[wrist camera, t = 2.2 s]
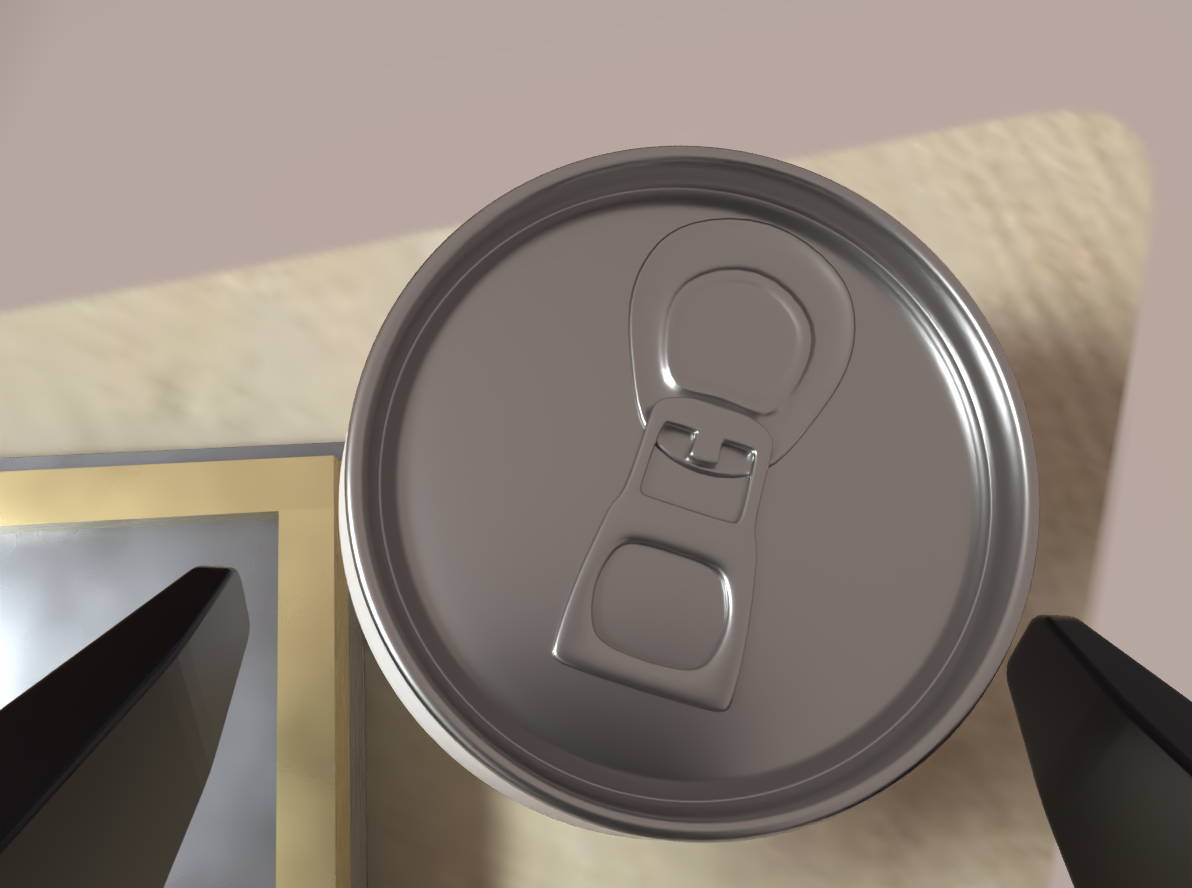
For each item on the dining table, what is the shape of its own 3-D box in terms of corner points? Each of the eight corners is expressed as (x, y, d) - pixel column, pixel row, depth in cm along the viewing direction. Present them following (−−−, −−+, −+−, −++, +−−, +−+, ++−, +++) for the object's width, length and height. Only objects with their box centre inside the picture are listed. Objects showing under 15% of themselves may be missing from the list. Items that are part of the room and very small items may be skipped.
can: (766, 462, 19) (1151, 230, 7) (690, 743, 18) (1012, 1025, 6) (499, 376, 19) (448, 1, 7) (403, 653, 17) (144, 756, 6)
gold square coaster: (367, 1000, 16) (336, 1078, 14) (-177, 1059, 15) (-325, 1155, 13) (362, 454, 18) (333, 429, 16) (-120, 477, 17) (-237, 455, 15)
